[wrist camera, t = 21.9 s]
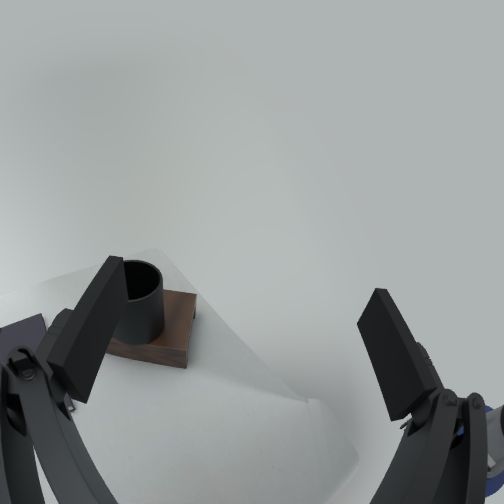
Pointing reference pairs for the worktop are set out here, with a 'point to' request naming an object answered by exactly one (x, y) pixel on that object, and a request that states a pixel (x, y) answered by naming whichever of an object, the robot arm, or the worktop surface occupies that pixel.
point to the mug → (141, 304)
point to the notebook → (25, 340)
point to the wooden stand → (165, 334)
